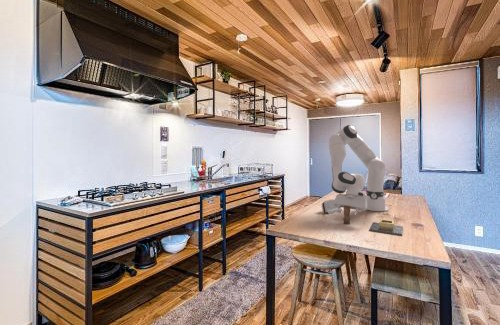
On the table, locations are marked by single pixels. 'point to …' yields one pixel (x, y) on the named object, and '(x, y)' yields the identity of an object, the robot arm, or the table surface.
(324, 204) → the hinge
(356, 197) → the robot arm
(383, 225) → the peg socket base
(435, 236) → the table surface
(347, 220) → the rail post
